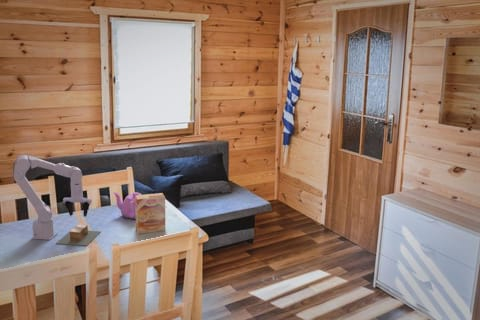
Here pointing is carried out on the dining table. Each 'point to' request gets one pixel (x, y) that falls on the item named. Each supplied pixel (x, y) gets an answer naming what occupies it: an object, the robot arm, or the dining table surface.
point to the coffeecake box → (150, 213)
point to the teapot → (127, 205)
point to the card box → (78, 232)
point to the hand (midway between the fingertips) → (78, 215)
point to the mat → (83, 242)
